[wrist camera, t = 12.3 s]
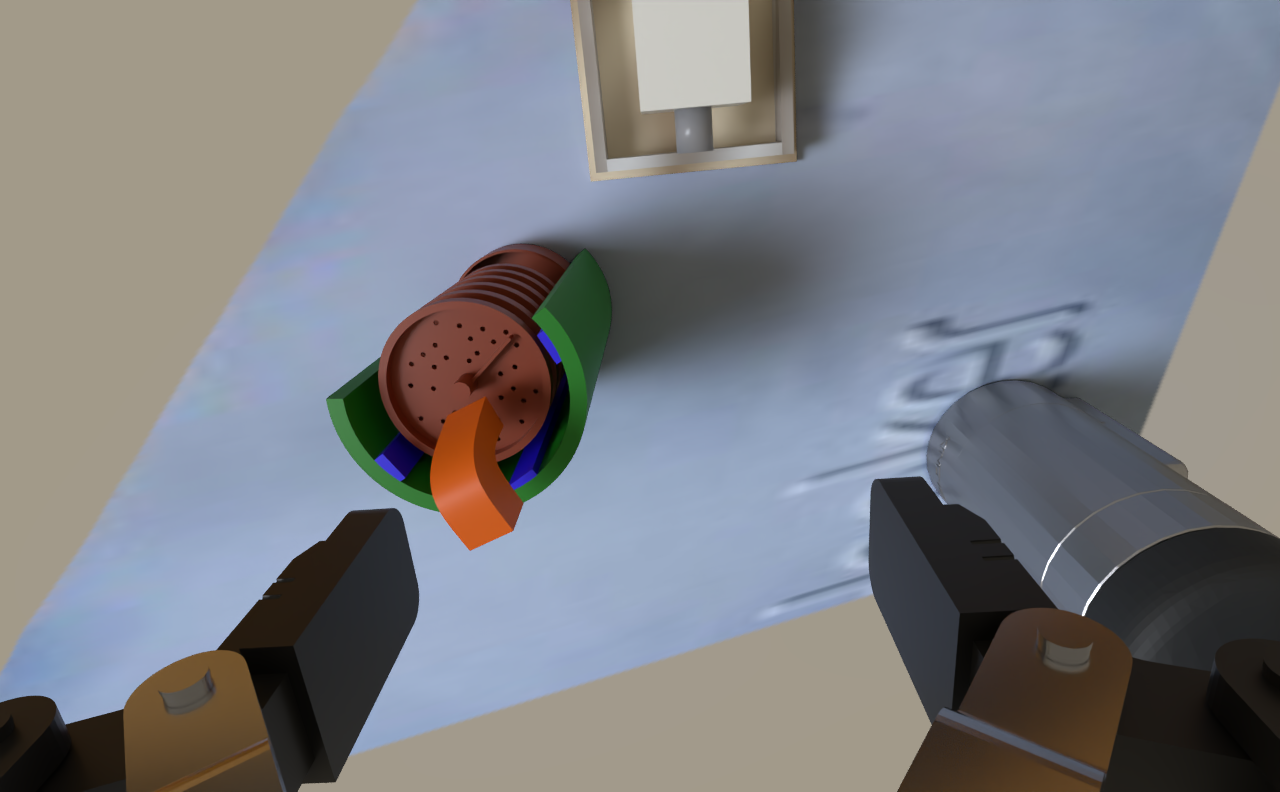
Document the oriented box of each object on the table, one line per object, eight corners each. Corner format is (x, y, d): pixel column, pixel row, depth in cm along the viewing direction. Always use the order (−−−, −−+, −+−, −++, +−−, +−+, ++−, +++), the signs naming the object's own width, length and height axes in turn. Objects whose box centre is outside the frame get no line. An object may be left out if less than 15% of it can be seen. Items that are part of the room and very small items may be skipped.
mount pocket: (789, -76, 36) (800, -92, 33) (794, 160, 40) (804, 162, 37) (565, -51, 36) (559, -65, 34) (591, 180, 40) (587, 184, 38)
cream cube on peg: (732, -1, 36) (747, -25, 31) (737, 146, 39) (752, 148, 33) (633, 9, 37) (630, -14, 31) (645, 154, 39) (644, 158, 33)
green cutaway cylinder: (549, 201, 41) (462, 262, 22) (646, 325, 43) (642, 476, 24) (418, 309, 43) (236, 448, 24) (516, 420, 45) (421, 627, 26)
